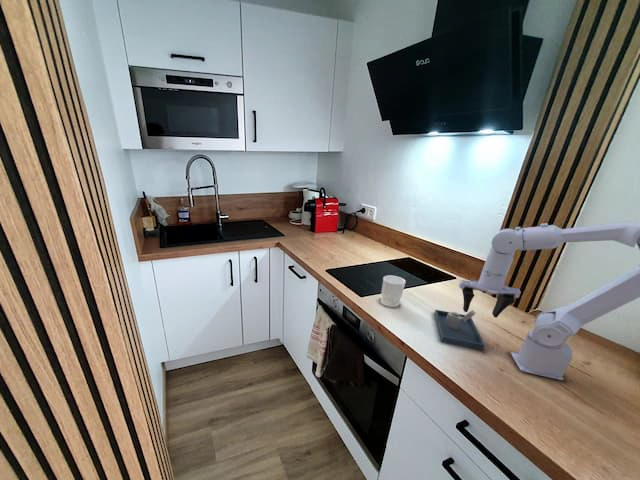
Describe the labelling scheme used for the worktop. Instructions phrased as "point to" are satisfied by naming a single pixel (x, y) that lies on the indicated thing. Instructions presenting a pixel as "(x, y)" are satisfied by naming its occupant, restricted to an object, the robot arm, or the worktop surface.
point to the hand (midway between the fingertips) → (479, 313)
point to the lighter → (457, 319)
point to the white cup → (392, 290)
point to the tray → (458, 332)
